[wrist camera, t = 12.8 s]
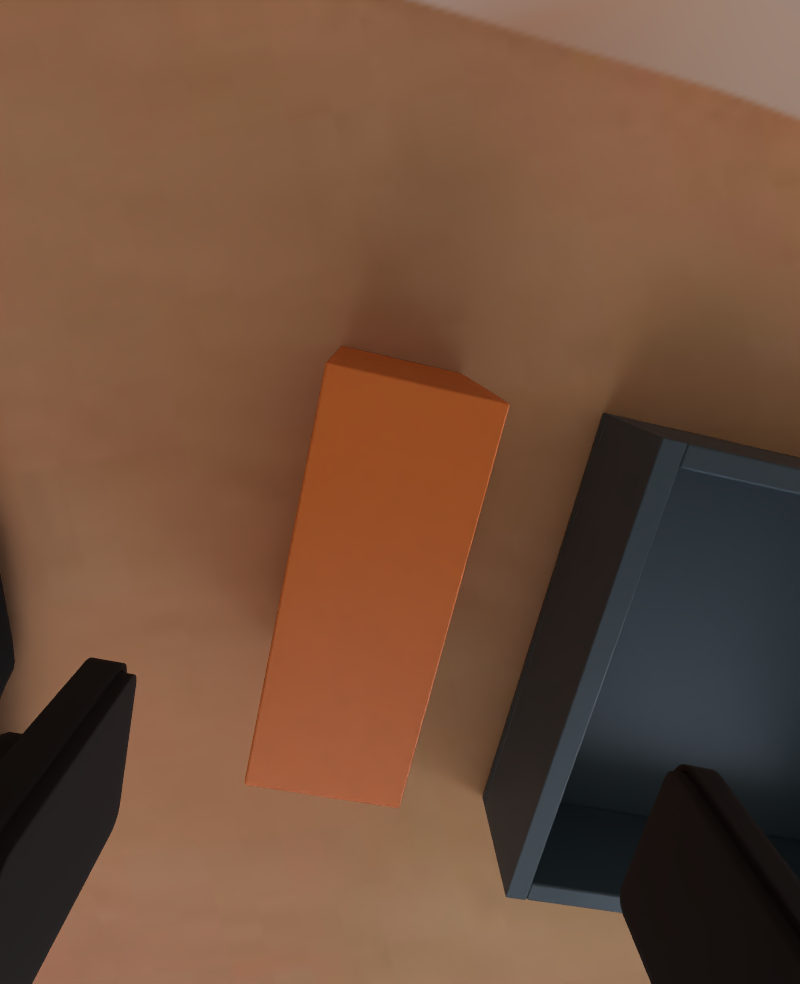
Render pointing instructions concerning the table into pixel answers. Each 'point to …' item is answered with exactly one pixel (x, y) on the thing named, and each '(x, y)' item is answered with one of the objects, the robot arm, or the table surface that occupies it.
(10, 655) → the electric trimmer
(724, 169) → the table surface
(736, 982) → the robot arm
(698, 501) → the bin
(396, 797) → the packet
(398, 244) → the table surface
